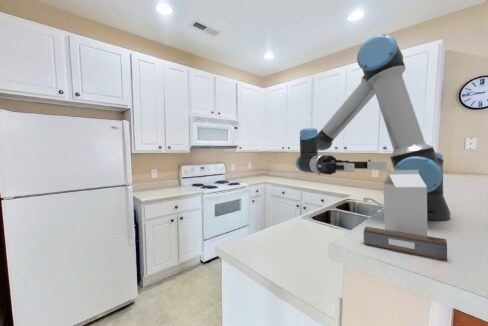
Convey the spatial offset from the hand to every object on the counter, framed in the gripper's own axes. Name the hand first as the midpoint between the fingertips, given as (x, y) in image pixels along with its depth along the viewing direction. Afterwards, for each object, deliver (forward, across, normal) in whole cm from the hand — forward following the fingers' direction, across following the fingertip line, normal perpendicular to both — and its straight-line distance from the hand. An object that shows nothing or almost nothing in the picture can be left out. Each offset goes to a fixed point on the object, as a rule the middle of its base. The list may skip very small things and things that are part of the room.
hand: (370, 166), depth 68 cm
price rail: (+14, +6, -19) cm, 25 cm away
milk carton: (+10, 0, -20) cm, 22 cm away
